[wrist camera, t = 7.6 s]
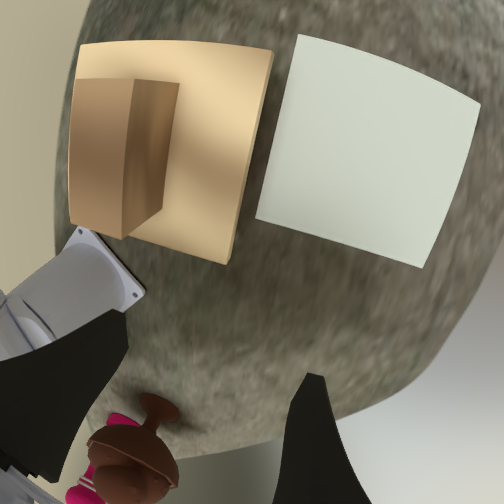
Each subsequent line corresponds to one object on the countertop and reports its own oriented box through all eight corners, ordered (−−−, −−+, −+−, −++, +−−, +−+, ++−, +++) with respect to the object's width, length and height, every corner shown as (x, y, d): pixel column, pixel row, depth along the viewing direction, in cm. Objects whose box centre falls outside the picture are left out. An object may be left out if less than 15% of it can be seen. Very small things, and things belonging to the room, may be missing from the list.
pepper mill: (100, 408, 38) (43, 503, 21) (129, 412, 36) (70, 522, 18) (126, 434, 41) (79, 524, 23) (157, 439, 38) (110, 542, 21)
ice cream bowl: (106, 377, 32) (47, 467, 19) (173, 379, 29) (113, 500, 16) (149, 426, 36) (109, 508, 23) (216, 432, 33) (180, 534, 19)
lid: (230, 257, 15) (201, 309, 12) (77, 211, 16) (27, 242, 12) (274, 54, 11) (254, 28, 7) (90, 46, 11) (30, 41, 8)
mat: (420, 265, 18) (422, 268, 18) (256, 216, 19) (255, 218, 19) (477, 104, 13) (480, 104, 12) (298, 35, 13) (298, 34, 13)
